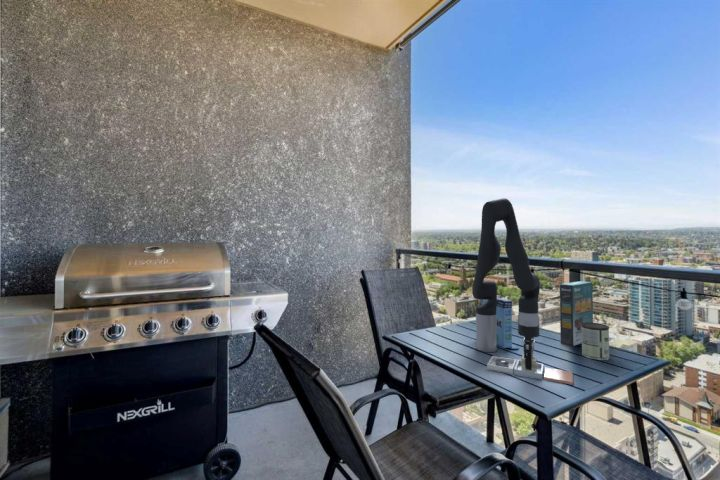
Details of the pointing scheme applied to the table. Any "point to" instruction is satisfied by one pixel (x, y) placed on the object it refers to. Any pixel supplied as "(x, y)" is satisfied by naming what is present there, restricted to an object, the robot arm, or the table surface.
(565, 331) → the cake mix box
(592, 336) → the coffee can
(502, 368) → the near tray
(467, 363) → the table surface
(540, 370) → the middle tray
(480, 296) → the robot arm
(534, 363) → the letter cube
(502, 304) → the gum box
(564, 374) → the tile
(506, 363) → the grey domed disc
